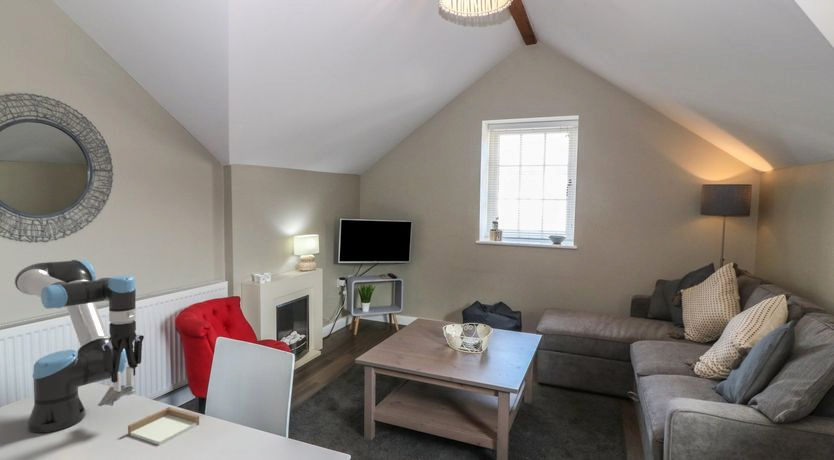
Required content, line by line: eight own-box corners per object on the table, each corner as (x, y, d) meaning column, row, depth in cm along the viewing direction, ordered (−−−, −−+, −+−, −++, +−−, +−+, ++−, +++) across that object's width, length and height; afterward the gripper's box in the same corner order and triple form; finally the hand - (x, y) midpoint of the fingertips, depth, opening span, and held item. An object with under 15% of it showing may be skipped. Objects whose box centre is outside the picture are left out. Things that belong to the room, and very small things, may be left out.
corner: (128, 434, 144) (127, 425, 144) (169, 415, 158) (168, 407, 157) (159, 445, 138) (159, 435, 138) (199, 424, 151) (199, 415, 151)
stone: (126, 406, 146) (119, 398, 145) (96, 408, 149) (90, 400, 147) (139, 391, 152) (132, 382, 150) (110, 393, 155) (104, 384, 153)
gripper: (104, 329, 140) (105, 400, 141) (153, 317, 155) (154, 381, 157) (89, 325, 143) (90, 395, 144) (139, 314, 158) (140, 377, 160)
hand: (123, 388), depth 150 cm, fingers closed on stone, 4 cm apart
